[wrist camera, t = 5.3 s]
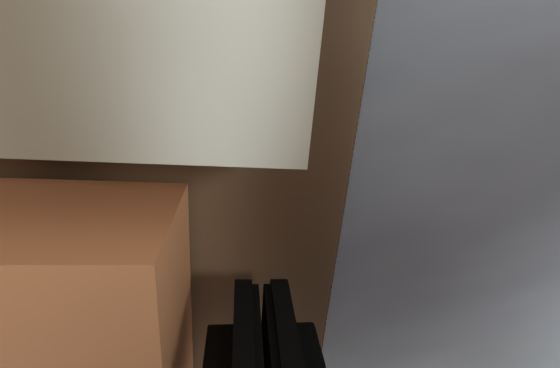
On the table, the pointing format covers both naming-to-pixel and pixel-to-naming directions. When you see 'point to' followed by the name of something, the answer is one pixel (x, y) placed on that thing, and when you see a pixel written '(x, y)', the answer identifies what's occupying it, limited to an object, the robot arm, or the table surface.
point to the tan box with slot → (94, 274)
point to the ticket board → (263, 195)
